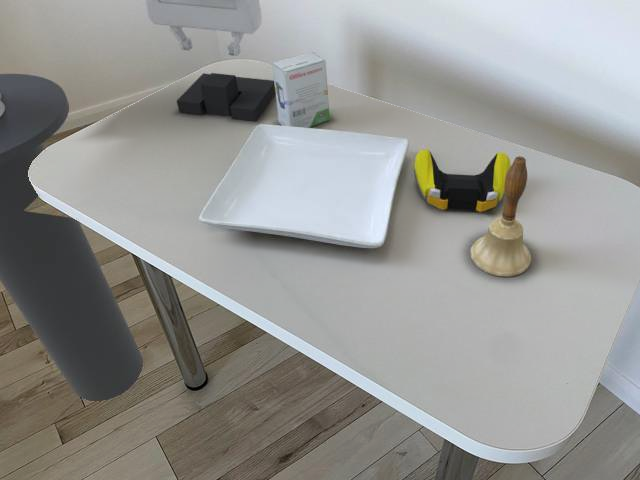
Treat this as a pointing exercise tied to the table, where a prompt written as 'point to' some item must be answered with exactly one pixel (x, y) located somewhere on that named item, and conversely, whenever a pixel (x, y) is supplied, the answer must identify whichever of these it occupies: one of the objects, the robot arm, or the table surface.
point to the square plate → (311, 185)
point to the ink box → (301, 90)
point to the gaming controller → (461, 184)
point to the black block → (219, 93)
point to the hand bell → (505, 232)
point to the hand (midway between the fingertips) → (210, 51)
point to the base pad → (244, 107)
